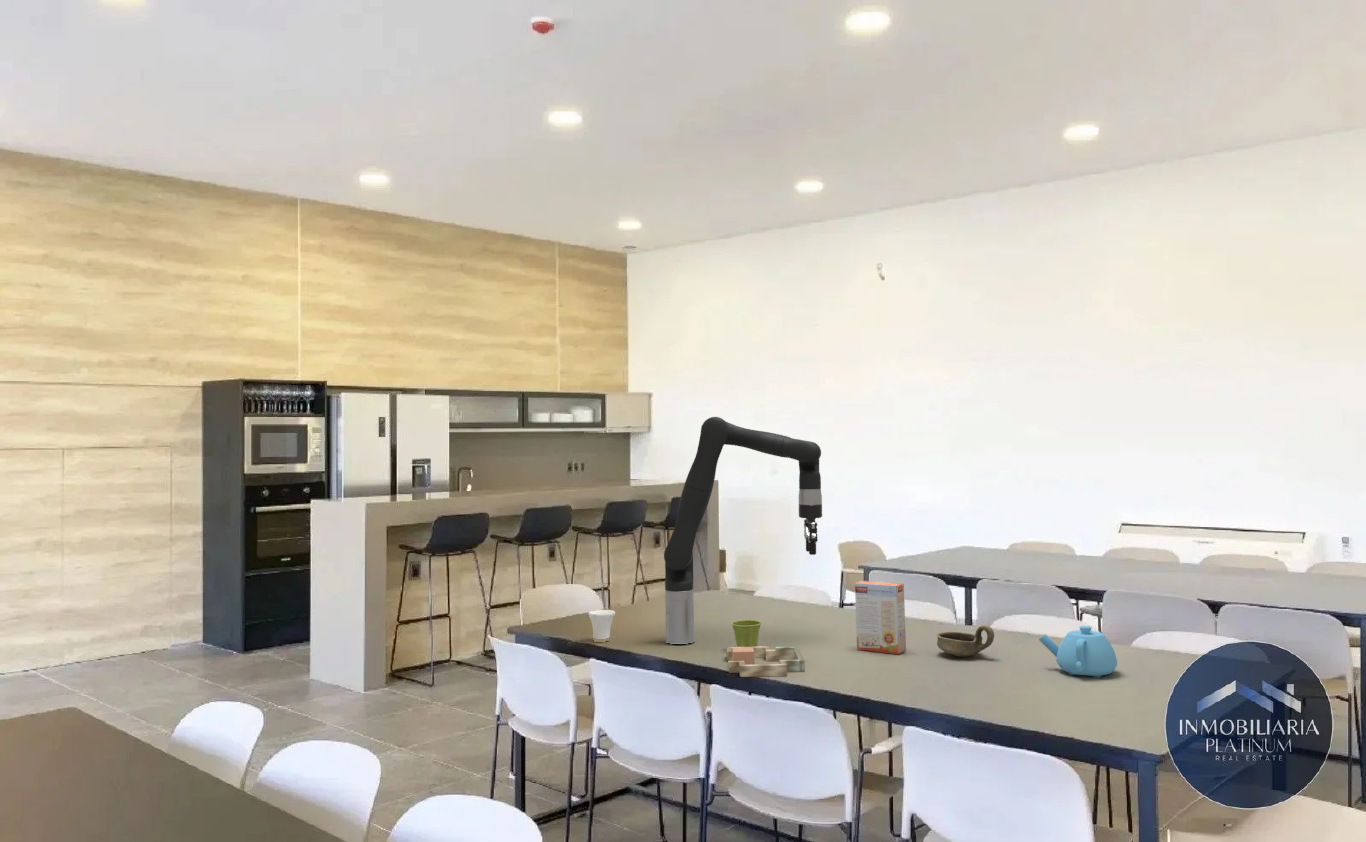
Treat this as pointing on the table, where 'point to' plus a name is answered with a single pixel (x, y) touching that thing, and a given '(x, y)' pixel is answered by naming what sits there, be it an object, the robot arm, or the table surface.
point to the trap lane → (786, 655)
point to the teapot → (1083, 652)
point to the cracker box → (880, 617)
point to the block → (744, 655)
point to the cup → (601, 623)
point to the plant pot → (746, 632)
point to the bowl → (964, 642)
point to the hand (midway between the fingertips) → (811, 553)
